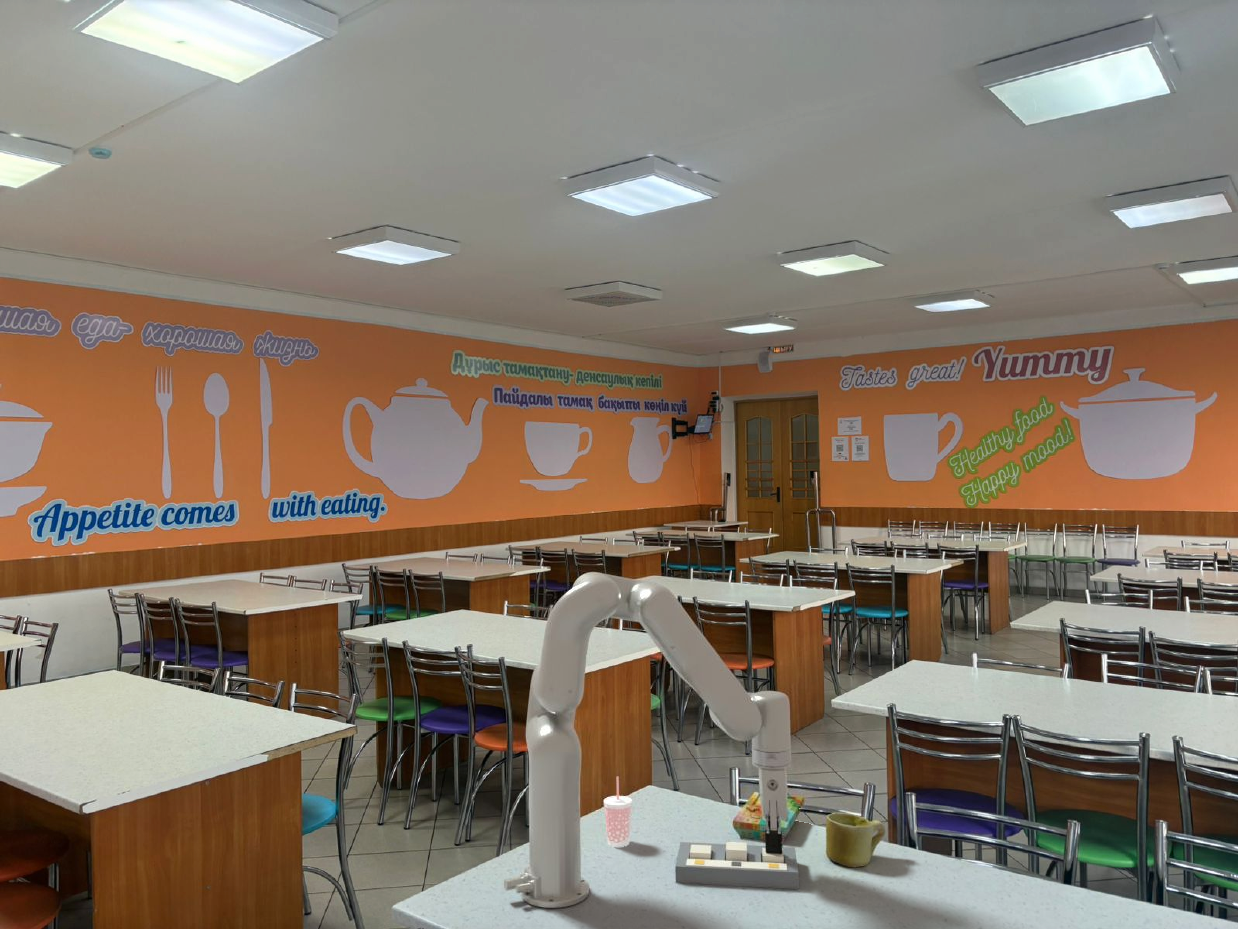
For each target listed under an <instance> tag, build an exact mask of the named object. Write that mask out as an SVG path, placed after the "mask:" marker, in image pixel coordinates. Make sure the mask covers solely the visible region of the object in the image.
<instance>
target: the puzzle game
mask: <svg viewBox="0 0 1238 929" xmlns="http://www.w3.org/2000/svg"><path fill="white" fill-rule="evenodd" d="M787 798H788V821H787V822H785V821H782V820H781V821H780V823H781V830H782V843H783V842H785V839H786V837H787V836H788V834H789V832H790V831H791V829H792V827H793V825H794V824H795V822H796V821H797V818H798V816H799V814H800V813H801V810H802V808H801V806H803V807H804V805H805V798H804V797H801V796H792V795H787ZM797 805H801V806H797ZM799 808H801V809H799ZM780 818H781V817H780ZM794 821H795V822H794ZM732 828H733V829H734V830H735V832H736V833H737V834H738V836H739V837H743V838H750V839H751V838H752V839H757V840H758V839H759V840H763V841H765V830H766V821H764V820H763V816H762V809H761V801H760V791H759V792H758V791H754V792H753V794H752V795H751V797H749V799H748V800H747V801H746V803H745V804H744V805H743V807H742V808H740V810H739V812H738V813H737V814H736V816H735V817H734V818H733V820H732Z"/></svg>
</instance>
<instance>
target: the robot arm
mask: <svg viewBox="0 0 1238 929" xmlns="http://www.w3.org/2000/svg"><path fill="white" fill-rule="evenodd" d="M608 618H612V619H617V620H624V621H629V622H638V623H639V624H640V625H641V626H642V627H643V629H644V631H645V632H646V634H647V635H648V636H649V637H650V639H651V640H652V641H653V643H654V644H655V646H657V648H658V650H659V651H660V652H661V653H662V656H663V657H664V658H665V660H666V661H667V662H668V664H669V665H670V667H672V669H673V670H674V671H675V672H676V673H677V675H678V676H679V677H680V678H681V679H682V680H683V681H684V682H685V683H686V684H687V685H688V686H689V687H691V689H693V690H694V692H695V693H696V694H697V695H698V696H699V697H700V698H701V699H702V700H703V702H704V703H705V704H706V705H707V707H708V712H709V713H708V714H709V715H710V718H711V720H712V722H713V723H714V724H715V725H716V726H717V727H719V729H720V730H721V731H722V732H724V733H726V735H728V736H729V737H730V738H732V739H733V740H735V741H739V742H747V741H750V740H751V759H752V760H751V762H752V764H751V765H752V766H754V767H755V768H758V785H759V786H758V787H759V793H760V801H761V809H762V816H763V820H764V821H766V830H765V840H764V841H765V842H764V843H765V845H764V846H765V848H766V853H770V854H782V847H783V842H782V830H781V823H780V821H781V820H782V821H785V822H787V821H788V798H787V796H788V776H787V769H788V768H790V767H791V766H792V744H791V743H792V742H791V709H790V708H791V707H790V706H791V705H790V698H789V696H788V695H787V694H785V693H783V692H781V691H774V690H764V691H763V690H762V691H757V692H748V691H747V690H746V689H745V688H744V686H743V685H742V684H741V682H740V681H739V679H738V678H737V677H736V675H735V674H734V673H733V672H732V671H731V670H730V668H729V667H728V666H727V664H726V663H725V662H724V661H723V659H722V658H721V657H720V655H719V654H718V653H717V651H716V650H715V648H714V647H713V646H712V645H711V643H710V642H709V641H708V640H707V638H706V637H705V636H704V634H703V633H702V632H701V630H700V629H699V627H698V626H697V625H696V623H695V622H694V621H693V619H692V618H691V616H690V615H689V614H688V612H687V611H686V610H685V608H684V607H683V605H682V604H681V603H680V601H679V600H678V598H677V596H675V594H674V593H673V592H672V591H671V590H670V589H669V588H668V587H665V586H664V585H661V584H658V583H656V582H653V581H647V580H641V579H633V578H629V577H623V576H620V575H619V576H617V575H612V574H608V573H602V572H596V571H591V572H586V573H584V574H581V575H580V576H579V577H577V579H576V580H574V583H573V585H572V587H571V589H569V590H568V591H566V593H564V594H563V595H562V596H561V597H560V598H559V599H558V601H557V602H556V603H555V605H554V606H553V607H552V609H551V611H550V612H549V615H548V618H547V620H546V624H545V630H544V637H543V643H542V648H541V656H540V662H539V663H537V665H536V666H535V668H534V670H533V672H532V675H531V680H530V687H529V688H530V689H529V696H528V703H527V704H528V706H527V716H526V726H525V741H526V746H527V750H528V764H529V766H528V767H529V770H528V771H529V772H528V774H529V775H528V776H529V777H528V818H529V820H528V821H529V822H528V823H529V824H528V825H529V827H528V829H529V830H528V831H529V832H528V833H529V835H528V836H529V837H528V838H529V866H528V867H524V873H521V874H520V876H517V877H511V878H506V879H504V880H503V885H504V891H506V892H507V891H508V892H509V891H511V890H515V892H516V894H520V895H521V898H522V899H523V900H524V901H525V902H526V903H528V904H530V905H531V906H535V907H538V908H546V909H547V908H550V909H557V908H565V907H566V908H567V907H569V906H574V905H576V904H578V903H580V902H582V901H584V900H585V899H586V898H587V897H588V895H589V893H590V884H589V882H588V880H586V879H585V878H584V877H582V876H581V874H582V872H581V870H582V868H581V867H582V866H581V864H582V863H581V861H582V860H581V858H582V856H581V853H582V852H581V850H582V849H581V770H582V747H581V741H580V738H579V735H578V734H577V731H576V729H575V717H576V709H577V708H578V707H579V706H580V704H581V703H582V699H583V698H584V692H585V676H586V664H587V654H588V649H589V641H590V638H591V637H590V636H591V634H592V632H593V630H594V629H595V628H596V626H597V625H598V624H600V622H602V621H603V620H606V619H608ZM780 817H781V818H780Z"/></svg>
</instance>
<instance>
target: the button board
mask: <svg viewBox="0 0 1238 929" xmlns="http://www.w3.org/2000/svg"><path fill="white" fill-rule="evenodd" d="M691 845H711V853H712V860H704V859H690V849H691ZM762 848H765V845H755V844H753V845H749V844H747V862H745V861H726V843H725V844H724V843H710V842H707V843H706V842H687V841H685V842H684V841H680V843H679V847H678V852H677V857H676V862H675V870H674V871H675V872H674V873H675V883H678V884H679V883H680V884H681V883H682V884H697V883H700V885H702V884H703V885H718V886H737V887H738V886H741V887H756V888H757V887H758V888H774V889H775V888H776V889H789V890H790V889H793V890H794V889H796V890H798V889H799V869H798V862H797V853H796V852H797V851H796V847H792V846H782V849H783V855H784V863H765V862H763V860H762Z"/></svg>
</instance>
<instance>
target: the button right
mask: <svg viewBox="0 0 1238 929" xmlns="http://www.w3.org/2000/svg"><path fill="white" fill-rule="evenodd" d="M762 860H763V862H765V863H784V855H783V849H782V854H770V853H766V848H762Z"/></svg>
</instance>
